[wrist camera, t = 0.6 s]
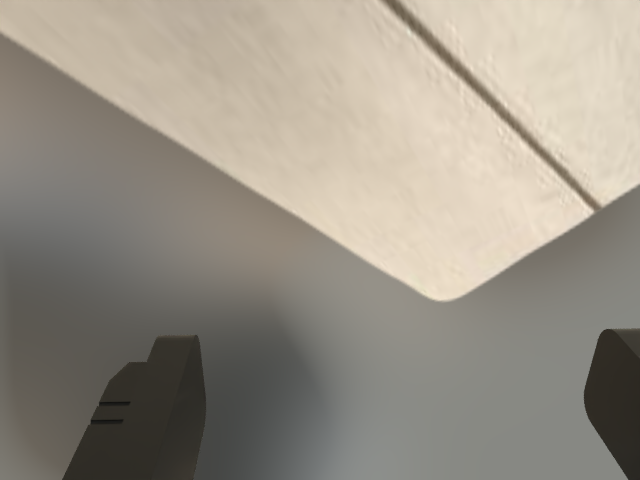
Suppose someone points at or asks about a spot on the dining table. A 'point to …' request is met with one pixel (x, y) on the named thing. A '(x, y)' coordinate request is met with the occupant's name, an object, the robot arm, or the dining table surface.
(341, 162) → the dining table surface
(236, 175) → the dining table surface
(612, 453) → the robot arm
